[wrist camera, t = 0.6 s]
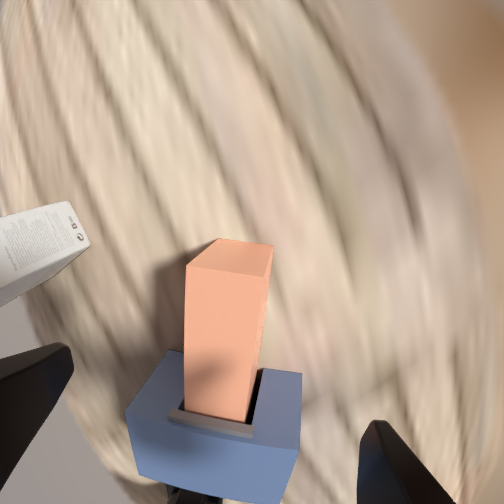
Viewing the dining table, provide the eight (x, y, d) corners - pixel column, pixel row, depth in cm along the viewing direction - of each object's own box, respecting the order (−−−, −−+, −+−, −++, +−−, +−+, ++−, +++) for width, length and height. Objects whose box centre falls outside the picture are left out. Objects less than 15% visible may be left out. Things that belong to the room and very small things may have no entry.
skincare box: (68, 197, 21) (-65, 227, 9) (95, 247, 22) (-33, 307, 10) (30, 237, 22) (-81, 278, 11) (53, 282, 23) (-53, 342, 11)
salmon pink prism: (251, 406, 23) (238, 462, 17) (208, 397, 23) (186, 450, 18) (273, 245, 20) (263, 277, 14) (218, 238, 20) (186, 265, 14)
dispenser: (286, 435, 23) (278, 506, 16) (171, 413, 24) (139, 474, 17) (303, 369, 21) (300, 445, 14) (168, 345, 23) (123, 406, 15)
